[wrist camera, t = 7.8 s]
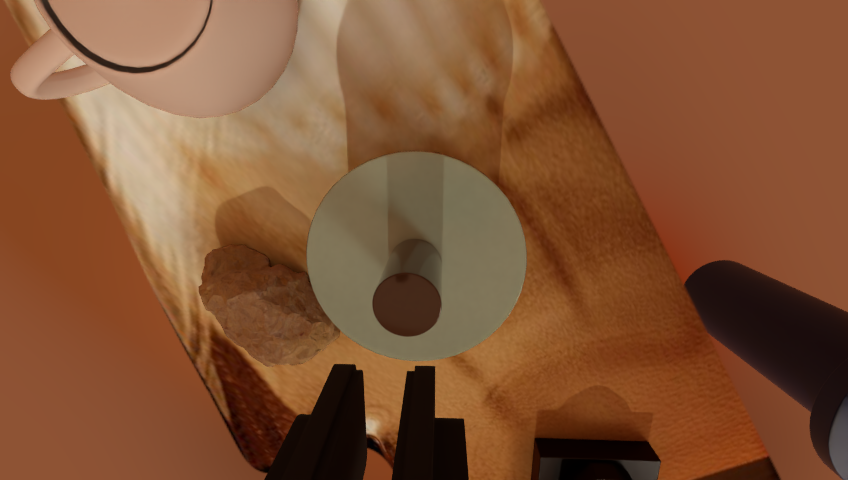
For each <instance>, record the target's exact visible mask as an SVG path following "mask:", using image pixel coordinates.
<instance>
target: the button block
mask: <svg viewBox="0 0 848 480" xmlns="http://www.w3.org/2000/svg"><path fill="white" fill-rule="evenodd" d="M660 463H661V461H660V459H659V457H658V456H657V454H656V453H655V451H654V450H653V448H652V447H651V445H650V444H649V442H642V441H609V440H577V439H545V438H535V442H534V453H533V465H532V477H531V480H657V479H658V474H659V468H660Z"/></svg>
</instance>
